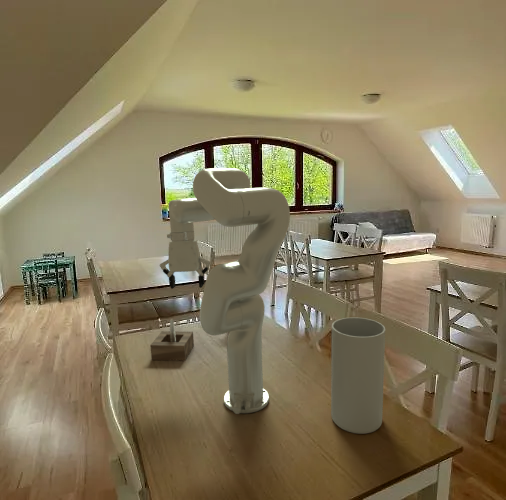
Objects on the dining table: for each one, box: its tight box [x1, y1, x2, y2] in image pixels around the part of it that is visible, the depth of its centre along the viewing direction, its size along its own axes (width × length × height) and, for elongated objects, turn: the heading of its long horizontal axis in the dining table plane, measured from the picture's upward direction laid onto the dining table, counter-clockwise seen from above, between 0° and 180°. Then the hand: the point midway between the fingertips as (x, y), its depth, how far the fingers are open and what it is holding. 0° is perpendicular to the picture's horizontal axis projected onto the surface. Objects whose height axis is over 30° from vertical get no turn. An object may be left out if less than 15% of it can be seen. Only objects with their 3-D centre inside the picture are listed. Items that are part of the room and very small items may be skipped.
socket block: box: [150, 330, 195, 361], centre depth 139 cm, size 12×12×6 cm
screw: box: [169, 318, 176, 342], centre depth 138 cm, size 13×5×5 cm
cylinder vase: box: [330, 316, 386, 435], centre depth 96 cm, size 12×12×25 cm
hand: (187, 287), depth 130 cm, fingers open, 9 cm apart
